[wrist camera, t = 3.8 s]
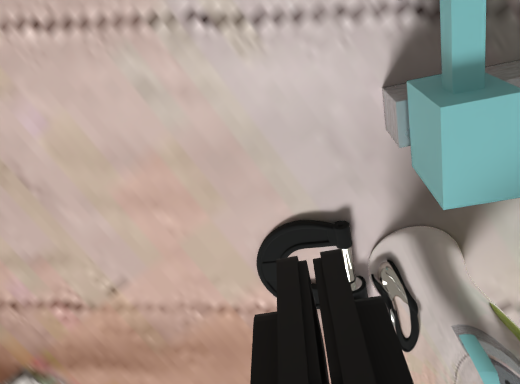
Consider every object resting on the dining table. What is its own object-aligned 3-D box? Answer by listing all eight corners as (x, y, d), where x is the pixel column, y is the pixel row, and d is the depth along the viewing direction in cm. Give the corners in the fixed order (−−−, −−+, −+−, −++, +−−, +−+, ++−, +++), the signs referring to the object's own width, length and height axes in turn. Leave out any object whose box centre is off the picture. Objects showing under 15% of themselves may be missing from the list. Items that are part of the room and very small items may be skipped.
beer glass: (376, 314, 30) (453, 578, 17) (347, 238, 27) (412, 483, 14) (475, 287, 29) (645, 553, 15) (456, 204, 26) (642, 441, 13)
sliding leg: (455, -144, 17) (545, -207, 11) (458, 142, 23) (520, 197, 17) (381, -124, 18) (432, -175, 12) (402, 152, 23) (443, 210, 17)
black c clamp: (246, 225, 28) (243, 247, 26) (354, 206, 27) (361, 227, 25) (289, 378, 34) (290, 407, 32) (377, 368, 33) (384, 396, 31)
